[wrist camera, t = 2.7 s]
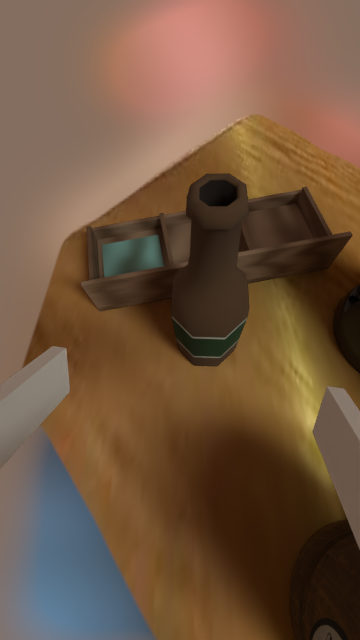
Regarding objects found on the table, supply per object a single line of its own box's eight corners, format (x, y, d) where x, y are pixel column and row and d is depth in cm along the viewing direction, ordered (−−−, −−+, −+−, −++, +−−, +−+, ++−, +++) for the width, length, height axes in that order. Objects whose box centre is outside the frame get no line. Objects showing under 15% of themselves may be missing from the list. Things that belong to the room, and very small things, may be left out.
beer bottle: (245, 357, 35) (321, 219, 14) (188, 378, 35) (174, 268, 13) (221, 307, 39) (252, 130, 17) (169, 325, 38) (131, 165, 16)
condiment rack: (296, 204, 46) (312, 165, 39) (328, 268, 40) (352, 235, 34) (95, 241, 45) (78, 208, 39) (99, 311, 39) (81, 286, 33)
